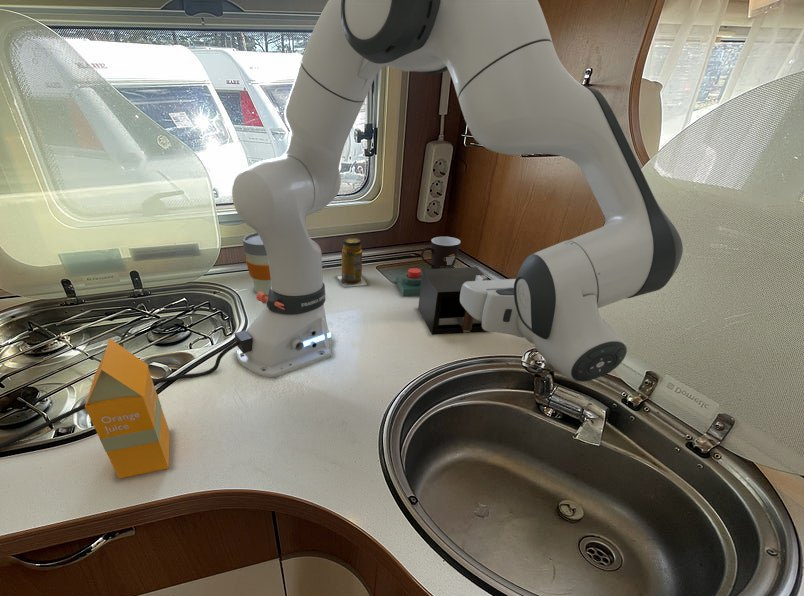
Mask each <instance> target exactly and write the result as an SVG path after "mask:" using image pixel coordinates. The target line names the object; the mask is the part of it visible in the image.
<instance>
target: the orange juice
mask: <svg viewBox="0 0 804 596" xmlns="http://www.w3.org/2000/svg"><path fill="white" fill-rule="evenodd" d="M85 403H86V405H85V411H86V412H87V415H88V417H89V419H90V422H91V423H92V425H93V427H94V429H95V431H96V434H97V436H98V438H99V441H100V443H101V445H102V448H103V449H104V451H105V452H106V455H107V457H108V460H109V461H110V463H111V465H112V467H113V469H114V472H115V474H116V476H117V478H118V480H121V479H125V478H129V477H135V476H139V475H144V474H148V473H154V472H157V471H162V470H167V469H169V468H170V447H171V446H170V444H171V442H170V441H171V432H170V431H171V430H170V428H169V426H168V422H167V420H166V417H165V414H164V411H163V407H162V403H161V401H160V398H159V394H158V392H157V390H156V387H155V384H153V378H152V375H151V372H150V369H149V364H147V363H146V362H144V361H143V360H142V359H140V358H139V357H137V356H136V355H135V354H133V353H132V352H130V351H129V350H128V349H126V348H125V347H123V346H122V345H121V344H119V343H118V342H116V341H115V340H113V339H112V338H110V337H109V338H108V342H107V345H106V348H105V350H104V353H103V356H102V357H101V360H100V362H99V365H98V366H97V369H96V372H94V375H93V379H92V382H91V385H90V389H89V392H88V395H87V399H86V402H85Z"/></svg>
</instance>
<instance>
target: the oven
mask: <svg viewBox="0 0 804 596" xmlns="http://www.w3.org/2000/svg"><path fill="white" fill-rule="evenodd" d="M421 273H422V278H421V287H420V296H419V298H418V306H417V309H418V312H419V315H420V316H421V317H422V319H423V321H424V323H425V325H426V327H427V328H428V331H429V332H430V334H431V335H432V336H440V335H441V336H442V335H456V334H472V333H473V334H476V333H489V332H488V331H485V330H484V329H483V328H482V323H474V324H473V325H472V329H471V330H470V332H463V331H462V330H461V328H460V327H459V325H458V324H455V325H438V322H439V315H440V309H441V303H445V302H460V292H461V288H462V285H463V284H464V283H465V282H467V281H475V278H476V275H485V274H484V273H483V272H482V271H481V270H480V269H479V268H478V267H477V266H469V267H468V266H466V267H454V268H444V269H431V268H424V269H422V270H421ZM487 280H490V279H489V278H488V277H487Z"/></svg>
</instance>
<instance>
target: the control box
mask: <svg viewBox="0 0 804 596" xmlns="http://www.w3.org/2000/svg"><path fill="white" fill-rule="evenodd" d="M395 277H396V278H395V284H396V285H397V287H398V289H399V292H400V294H401V296H402V297H418V296H420V287H421V278H422V272H421V276H420V278H416V279H413V278H409V277H408V271H407V272H404V273H403V274H402V275H396V276H395Z"/></svg>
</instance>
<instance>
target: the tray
mask: <svg viewBox="0 0 804 596" xmlns="http://www.w3.org/2000/svg"><path fill="white" fill-rule="evenodd" d="M474 323H482V321H479V320H477V319H475V318H473V317H472V316H471V315H470V314H469V313H468V312H467V311H466V310H465V309H464V307H463V306H462V305H461V303H460V302H445V303H441V309H440V315H439V322H438V325H455V324H458V325H459V327H460V328H461V330H462V331H463V332H470V330H471V329H472V325H473V324H474Z"/></svg>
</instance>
